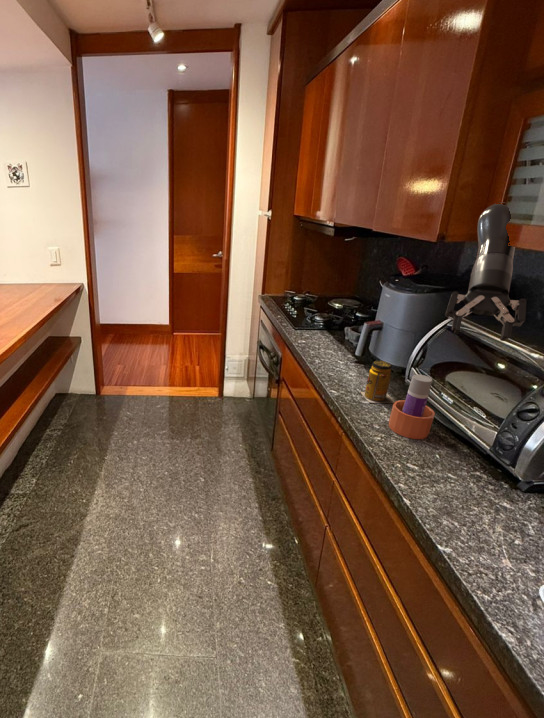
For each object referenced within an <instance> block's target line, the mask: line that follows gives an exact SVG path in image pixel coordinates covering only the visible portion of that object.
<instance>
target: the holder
mask: <svg viewBox="0 0 544 718" xmlns="http://www.w3.org/2000/svg"><path fill="white" fill-rule="evenodd" d="M405 400H406V399H400V400H397V401H395V403H392V407H391V408H392V409H391V412H390V416H389V419H388V427H389V429H390V430H391V431H393V432H394V433H395V434H397V435H399V436H402V437H404V438H407V439H412V440H423V439H426V438H428V436H429V435H430V432H431V428H432V426H433V422H434V419H435V416H436V412H435V411H434V409H432V408H431V407H429V406H428V405H426V406H425V409H424V413H423V416H422V417H415V416H411V415H408V414H406V413H404V412H402V411H403V408H404V404H405Z"/></svg>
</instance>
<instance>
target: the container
mask: <svg viewBox="0 0 544 718" xmlns="http://www.w3.org/2000/svg"><path fill="white" fill-rule="evenodd" d="M432 384H433V379H432V378H431V377H430V376H428V375H425V374H413V375H412V377H411V380H410V383H409V387H408V390H407V393H406V397H405V399H404V400H405V404H404V408H403V411H402V412H404V413H406V414H408V415H411V416H415V417H422V416H423V413H424V409H425V406H427V402H428V399H429V395H430V392H431V387H432Z"/></svg>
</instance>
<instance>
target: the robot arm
mask: <svg viewBox="0 0 544 718" xmlns="http://www.w3.org/2000/svg"><path fill="white" fill-rule="evenodd" d="M510 219H511V214H510V211H509V208H508V207H507V206H506V205H503V204H496V203H493V204H491V205H489V206H487V207H486V208H485V209H484V210H483V211H482V212H481V214H480V215H479V217H478V220H477V226H476V227H477V228H476V229H477V231H476V232H477V234H476V235H477V244H478V246H477V247H478V248H477V252H476V256H475V261H474V264H473V266H472V269H471V273H470V279H469V283H468V288H467V293H466V294H460V293H459V292H458V291H456V290H455V291H452V293H451V295H450V297H449V301H448V304H447V307H446V310H445V314H444V316H445V317H446V318H451V319H452V325H451V331H452V332H453V334H456V335H458V334H459V333H460V331H461V327H462V326H461V325H462V321H463V318H465V317H467V316H468V315H470V314H472V313H473V314H474V315H476V316H477V315H479V316H481V315H483V316H486V317H493V316H494V318H495V319H496V320H497V321H498V322H500V323H501V324H502V325H503V326H502V328H501V332H500V338H499V340H500V341H501V342H505V341H506V340H508V339H510V337H511V335H512V334H513V327H517V328H518V327H521V326H523V323H524V322H525V321H526V318H527V303H528V302H527V299H526V298H520V299H519V300H517V299H516V300H515V299H510V297H509V294H510V289H511V283H512V277H513V271H514V266H513V265H514V264H513V263H514V256H515V250H516V246H515V247H512V246H508V243H509V242H510V241H509V236H508V233H507V230H506V225H507V223H508V222H509V221H510ZM509 245H510V244H509ZM461 301H463V303H464V304H465V305H464V306H463V307H461V308H460V309H459V310H455V306H456V304H459V303H460V302H461ZM508 306H510V307H511V309H512V310H513V311H515V313H514V317H513V316H512V315H511V313H510V311H509V309H508V308H507V307H508Z"/></svg>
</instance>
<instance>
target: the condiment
mask: <svg viewBox="0 0 544 718" xmlns="http://www.w3.org/2000/svg"><path fill="white" fill-rule="evenodd" d="M392 367H393V365H392V364H391V363H390V362H387V361H385V360H375V361H373V362H372V364H371V368H370V369H369V372H368V376H367V382H366V385H365V391H360V393H361V396H362V397H363V398H364V399H365V400H366V402H367V403H373V404H394V403H395V402H396V401H395V400H394V399H393V398H392V397H391V395H389V393H388V390H389V387H390V381H391V378H392Z"/></svg>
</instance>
